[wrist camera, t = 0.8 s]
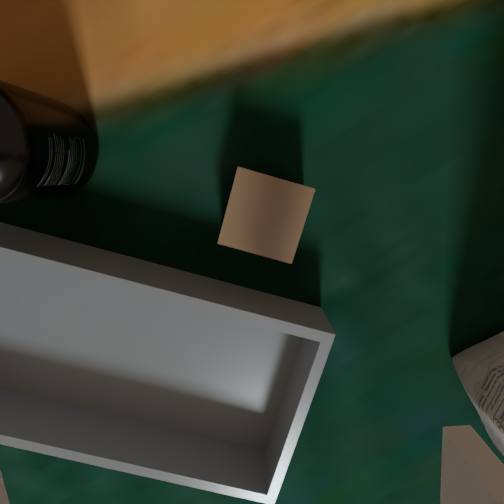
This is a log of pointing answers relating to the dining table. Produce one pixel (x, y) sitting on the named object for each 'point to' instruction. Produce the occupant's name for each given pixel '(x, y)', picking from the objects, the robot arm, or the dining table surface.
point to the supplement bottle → (42, 146)
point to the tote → (152, 367)
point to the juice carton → (485, 383)
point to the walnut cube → (265, 215)
